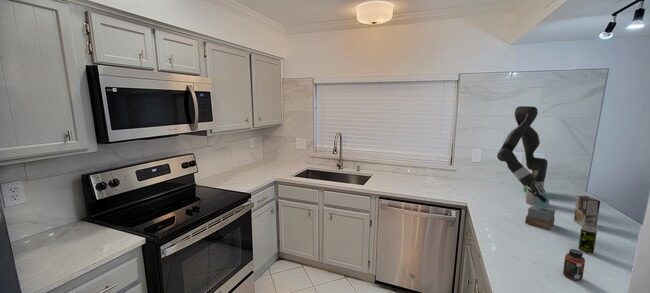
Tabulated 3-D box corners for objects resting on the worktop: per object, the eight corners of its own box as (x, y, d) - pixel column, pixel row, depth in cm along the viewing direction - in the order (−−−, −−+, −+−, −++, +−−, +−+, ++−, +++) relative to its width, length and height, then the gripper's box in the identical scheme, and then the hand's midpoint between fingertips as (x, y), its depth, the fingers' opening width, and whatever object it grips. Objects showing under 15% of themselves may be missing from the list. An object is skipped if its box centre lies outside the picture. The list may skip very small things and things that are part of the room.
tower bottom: (531, 219, 168) (532, 211, 167) (553, 225, 159) (554, 217, 158) (525, 224, 161) (525, 216, 160) (548, 230, 152) (549, 222, 152)
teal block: (538, 204, 161) (539, 191, 160) (548, 206, 157) (550, 193, 156) (535, 206, 158) (536, 193, 157) (545, 208, 154) (547, 195, 153)
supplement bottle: (582, 283, 107) (586, 256, 105) (562, 277, 111) (566, 251, 109) (582, 276, 111) (585, 250, 109) (562, 270, 115) (566, 245, 113)
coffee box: (597, 228, 154) (601, 201, 152) (584, 227, 156) (587, 200, 153) (585, 221, 163) (589, 195, 161) (573, 220, 164) (576, 195, 162)
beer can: (577, 247, 134) (581, 224, 132) (593, 250, 130) (596, 227, 129) (578, 251, 130) (581, 228, 128) (594, 255, 126) (597, 231, 125)
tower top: (533, 212, 166) (534, 204, 165) (554, 217, 158) (555, 209, 157) (527, 216, 160) (528, 208, 160) (548, 221, 152) (549, 213, 152)
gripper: (525, 174, 157) (549, 200, 149) (534, 171, 165) (556, 195, 158) (514, 181, 162) (536, 206, 154) (522, 177, 170) (544, 201, 163)
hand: (546, 200), depth 156 cm, fingers closed on teal block, 5 cm apart
